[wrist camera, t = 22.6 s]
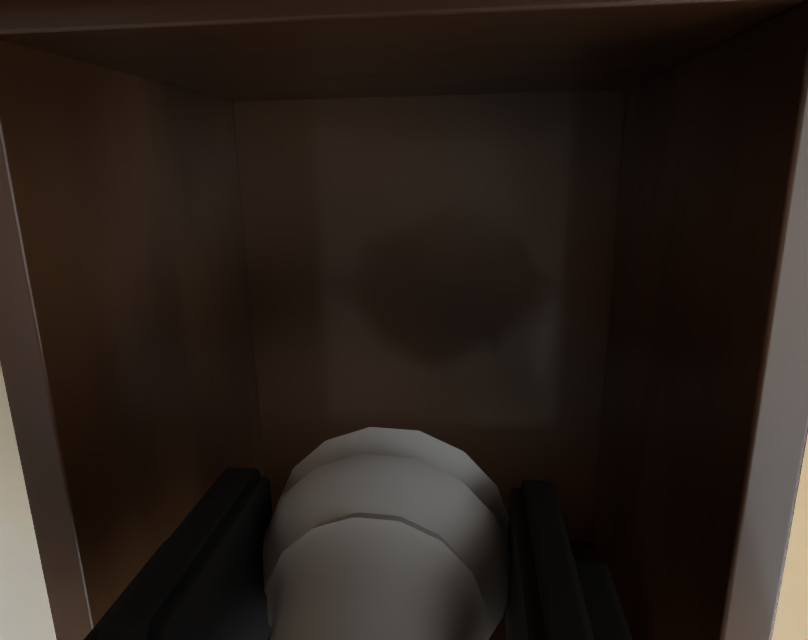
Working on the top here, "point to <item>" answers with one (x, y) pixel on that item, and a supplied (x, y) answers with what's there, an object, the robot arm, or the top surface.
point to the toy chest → (413, 270)
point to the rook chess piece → (387, 543)
